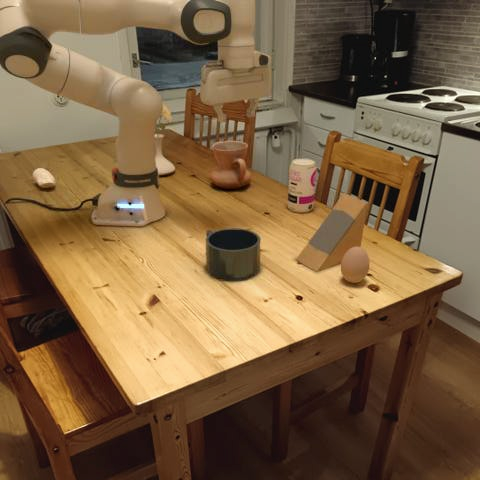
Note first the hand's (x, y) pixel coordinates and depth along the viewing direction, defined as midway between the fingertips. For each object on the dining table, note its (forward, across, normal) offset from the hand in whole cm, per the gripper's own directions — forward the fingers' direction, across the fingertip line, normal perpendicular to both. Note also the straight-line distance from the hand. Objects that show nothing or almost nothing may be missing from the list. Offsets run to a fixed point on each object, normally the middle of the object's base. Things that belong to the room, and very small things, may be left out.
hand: (236, 119), depth 129 cm
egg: (+31, +4, -40) cm, 51 cm away
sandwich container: (+31, +8, -28) cm, 43 cm away
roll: (+31, -28, +72) cm, 84 cm away
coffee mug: (+31, -15, -15) cm, 37 cm away
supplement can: (+31, +27, +2) cm, 41 cm away
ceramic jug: (+31, +24, +32) cm, 51 cm away
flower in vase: (+31, +12, +61) cm, 70 cm away
